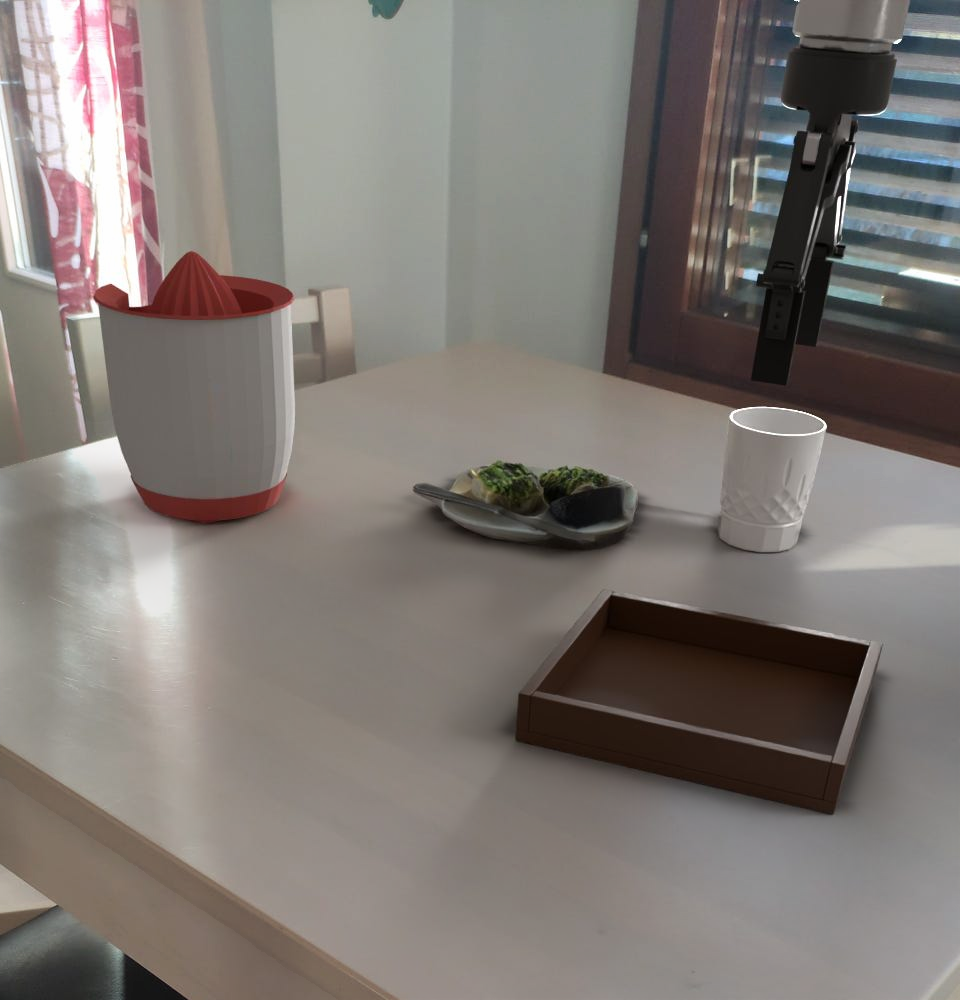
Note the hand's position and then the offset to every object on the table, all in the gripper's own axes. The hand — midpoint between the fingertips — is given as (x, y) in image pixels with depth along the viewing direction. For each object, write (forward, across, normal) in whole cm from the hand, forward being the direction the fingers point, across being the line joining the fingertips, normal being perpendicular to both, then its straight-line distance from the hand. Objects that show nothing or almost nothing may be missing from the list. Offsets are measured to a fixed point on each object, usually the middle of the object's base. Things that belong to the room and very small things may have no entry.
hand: (785, 362), depth 100 cm
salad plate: (+15, +4, -18) cm, 23 cm away
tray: (+14, +33, +3) cm, 36 cm away
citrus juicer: (+15, +14, -46) cm, 50 cm away
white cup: (+15, 0, 0) cm, 15 cm away
